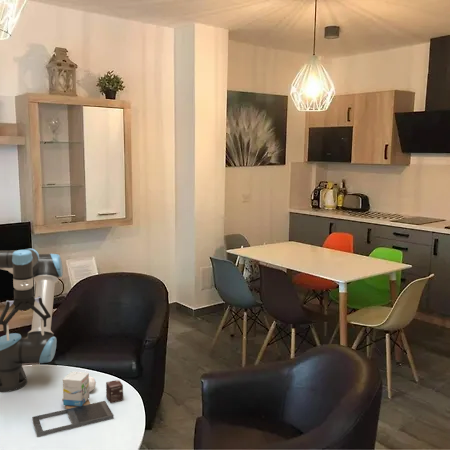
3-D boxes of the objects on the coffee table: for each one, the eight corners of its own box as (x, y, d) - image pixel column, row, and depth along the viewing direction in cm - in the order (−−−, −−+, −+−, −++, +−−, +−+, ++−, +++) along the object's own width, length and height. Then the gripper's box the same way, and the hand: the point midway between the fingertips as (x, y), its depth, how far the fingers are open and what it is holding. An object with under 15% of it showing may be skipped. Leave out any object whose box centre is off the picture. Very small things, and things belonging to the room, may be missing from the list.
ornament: (97, 393, 229) (88, 383, 224) (83, 396, 231) (74, 387, 226) (100, 379, 234) (91, 370, 230) (86, 383, 236) (77, 374, 231)
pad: (62, 400, 222) (62, 398, 222) (85, 395, 226) (85, 393, 226) (67, 411, 213) (67, 409, 213) (90, 406, 218) (90, 404, 218)
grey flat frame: (37, 436, 195) (37, 433, 194) (32, 420, 206) (32, 416, 206) (113, 418, 209) (113, 414, 209) (105, 403, 220) (105, 400, 220)
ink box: (81, 406, 214) (80, 380, 213) (62, 405, 216) (61, 379, 214) (89, 397, 223) (89, 372, 221) (71, 396, 224) (71, 371, 223)
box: (109, 403, 221) (109, 387, 219) (106, 397, 226) (105, 382, 225) (123, 400, 224) (123, 385, 222) (119, 394, 229) (119, 379, 228)
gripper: (-10, 294, 198) (-7, 345, 201) (56, 286, 210) (58, 335, 213) (-11, 288, 204) (-8, 338, 208) (53, 282, 216) (54, 329, 220)
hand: (25, 336), depth 211 cm, fingers open, 13 cm apart
